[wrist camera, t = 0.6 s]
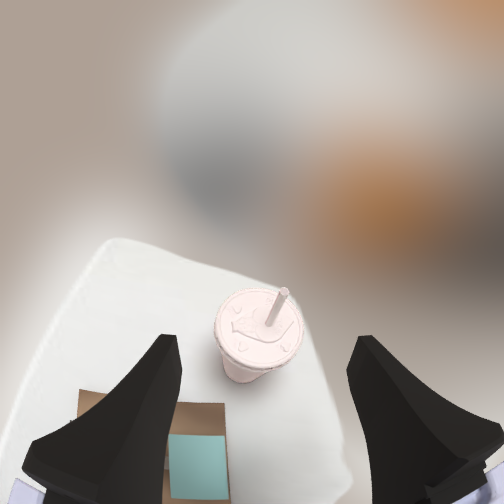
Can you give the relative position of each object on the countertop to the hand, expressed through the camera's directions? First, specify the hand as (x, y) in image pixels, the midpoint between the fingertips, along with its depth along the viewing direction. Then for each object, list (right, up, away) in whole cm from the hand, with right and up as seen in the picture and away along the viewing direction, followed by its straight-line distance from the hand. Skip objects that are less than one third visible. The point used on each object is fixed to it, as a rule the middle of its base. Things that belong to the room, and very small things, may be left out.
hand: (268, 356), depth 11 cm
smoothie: (-2, -7, +16) cm, 18 cm away
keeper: (-5, -14, +8) cm, 17 cm away
